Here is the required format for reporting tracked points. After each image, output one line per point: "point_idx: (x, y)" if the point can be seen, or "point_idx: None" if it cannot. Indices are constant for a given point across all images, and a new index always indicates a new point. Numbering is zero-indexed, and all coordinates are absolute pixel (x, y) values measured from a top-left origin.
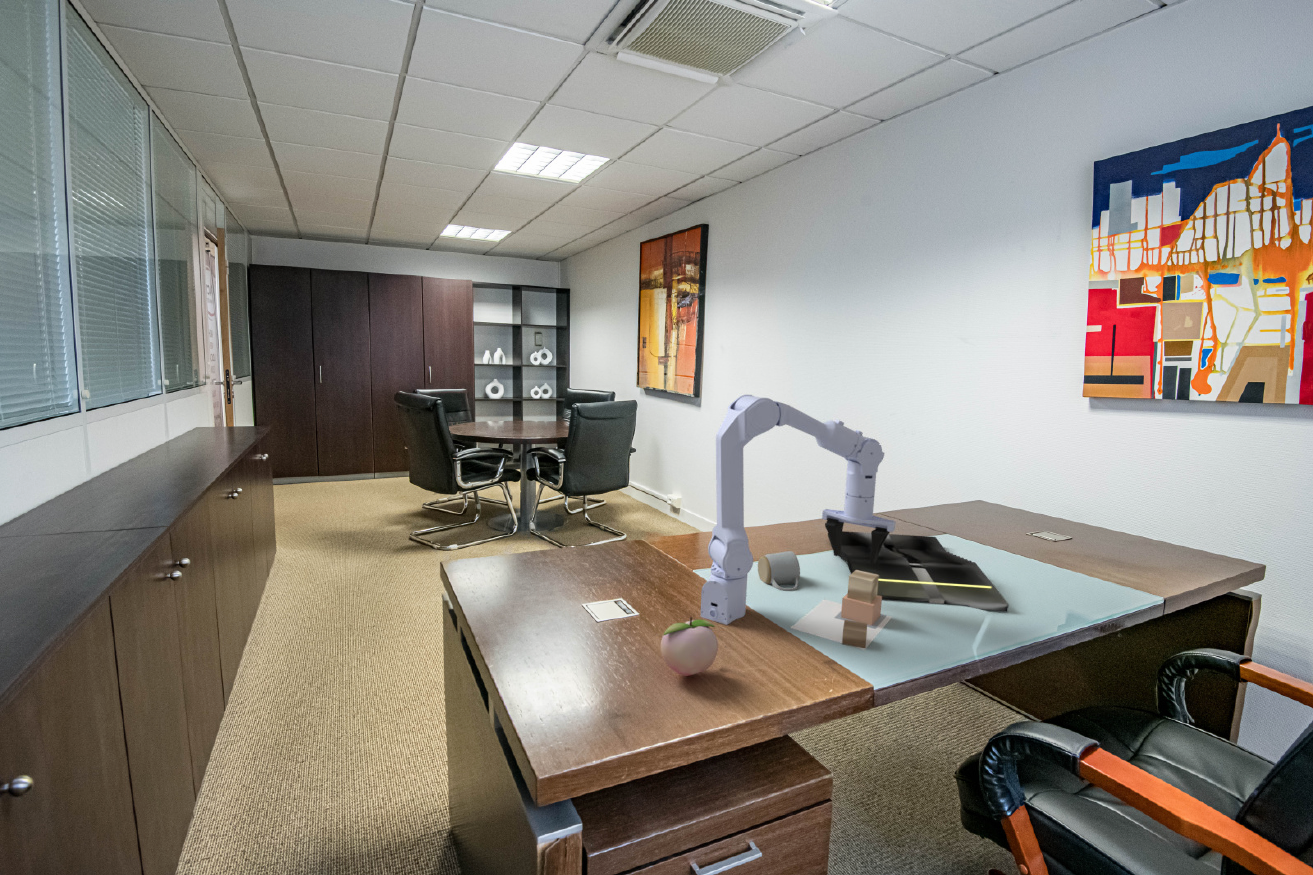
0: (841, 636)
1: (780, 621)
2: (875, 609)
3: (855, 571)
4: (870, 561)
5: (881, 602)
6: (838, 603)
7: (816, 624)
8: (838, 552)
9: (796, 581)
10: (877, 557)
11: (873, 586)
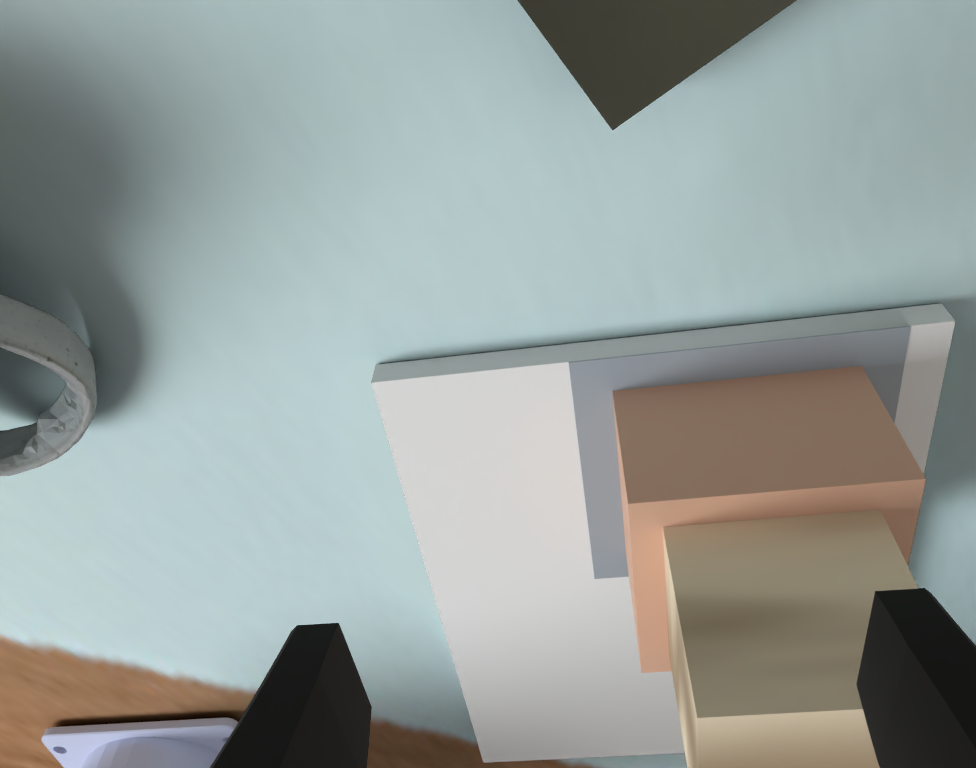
0: None
1: (379, 696)
2: None
3: (710, 751)
4: (869, 721)
5: (903, 442)
6: (497, 379)
7: (559, 685)
8: (351, 708)
9: (20, 353)
10: (970, 647)
11: None
